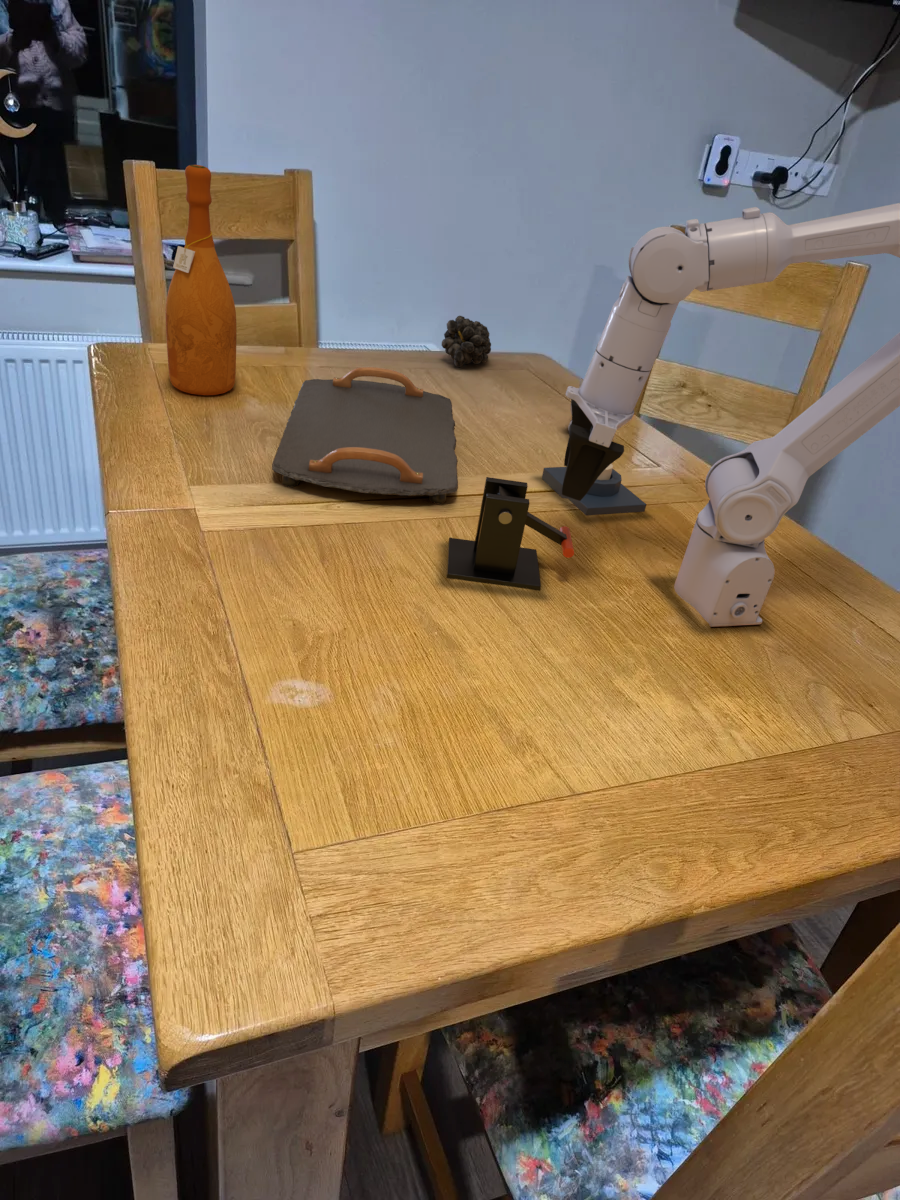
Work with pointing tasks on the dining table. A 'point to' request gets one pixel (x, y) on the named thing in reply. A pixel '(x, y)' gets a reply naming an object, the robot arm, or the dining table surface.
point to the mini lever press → (497, 542)
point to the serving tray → (370, 437)
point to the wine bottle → (200, 303)
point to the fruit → (466, 341)
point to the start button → (606, 473)
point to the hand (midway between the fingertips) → (571, 481)
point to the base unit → (598, 494)
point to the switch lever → (546, 528)
